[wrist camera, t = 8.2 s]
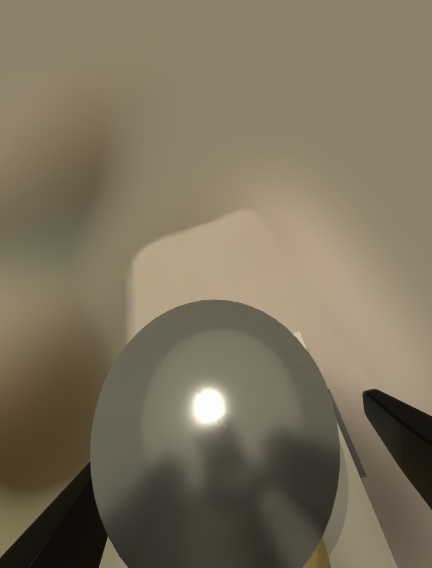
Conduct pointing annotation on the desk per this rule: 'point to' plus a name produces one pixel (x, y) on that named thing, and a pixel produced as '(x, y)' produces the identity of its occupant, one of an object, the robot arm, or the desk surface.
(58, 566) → the robot arm
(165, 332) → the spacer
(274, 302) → the desk surface
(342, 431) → the scale
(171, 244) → the desk surface
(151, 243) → the desk surface
